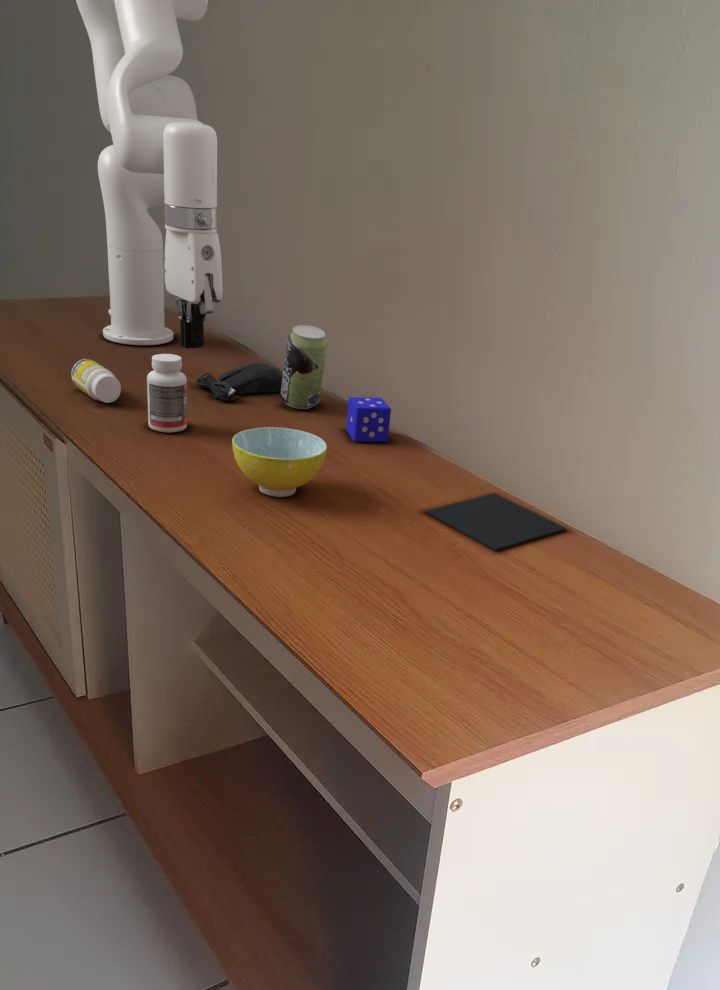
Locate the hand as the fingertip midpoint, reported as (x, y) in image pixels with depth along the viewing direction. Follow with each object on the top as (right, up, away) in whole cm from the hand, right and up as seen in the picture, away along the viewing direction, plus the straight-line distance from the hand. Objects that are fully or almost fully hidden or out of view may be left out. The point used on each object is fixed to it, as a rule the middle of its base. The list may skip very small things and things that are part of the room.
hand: (192, 346), depth 146 cm
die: (+27, -17, -10) cm, 33 cm away
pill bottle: (-1, -16, -14) cm, 21 cm away
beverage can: (+17, -10, -1) cm, 20 cm away
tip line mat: (+43, -32, -33) cm, 62 cm away
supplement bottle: (-15, -5, -4) cm, 17 cm away
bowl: (+16, -27, -30) cm, 44 cm away
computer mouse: (+8, -6, +4) cm, 11 cm away
